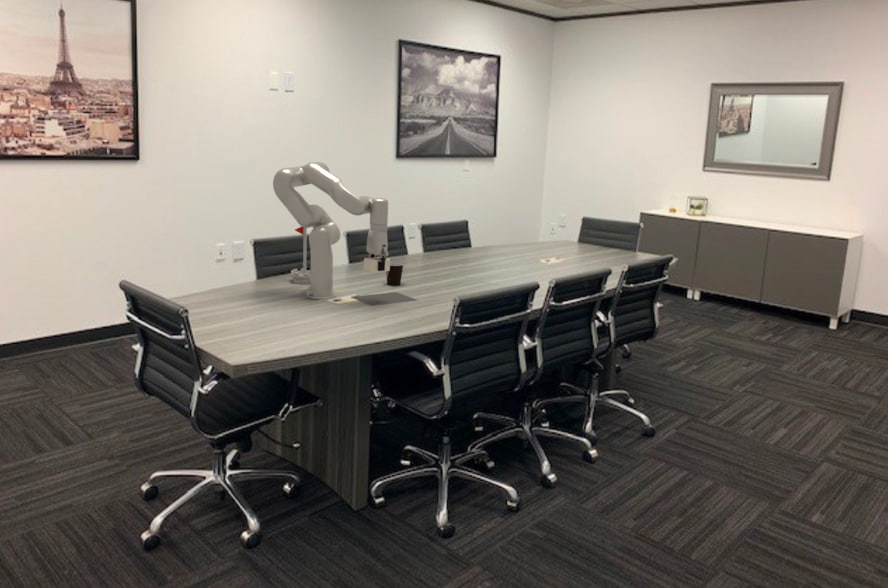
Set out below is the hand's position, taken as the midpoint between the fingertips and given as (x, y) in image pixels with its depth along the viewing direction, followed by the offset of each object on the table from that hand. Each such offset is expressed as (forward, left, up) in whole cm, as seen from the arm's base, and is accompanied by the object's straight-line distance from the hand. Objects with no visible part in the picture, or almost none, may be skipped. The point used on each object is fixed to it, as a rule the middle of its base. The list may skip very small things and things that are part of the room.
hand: (376, 268), depth 312 cm
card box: (0, 0, -1) cm, 1 cm away
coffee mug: (+29, +30, -15) cm, 44 cm away
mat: (+6, +3, -15) cm, 17 cm away
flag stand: (-8, +52, -15) cm, 55 cm away
